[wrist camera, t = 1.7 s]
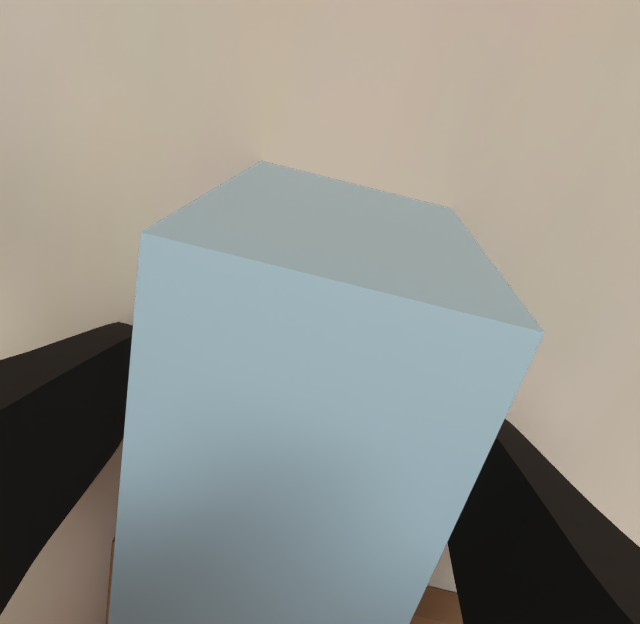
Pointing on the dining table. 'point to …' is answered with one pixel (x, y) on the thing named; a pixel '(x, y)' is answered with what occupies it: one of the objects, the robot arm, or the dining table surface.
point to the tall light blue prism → (306, 402)
